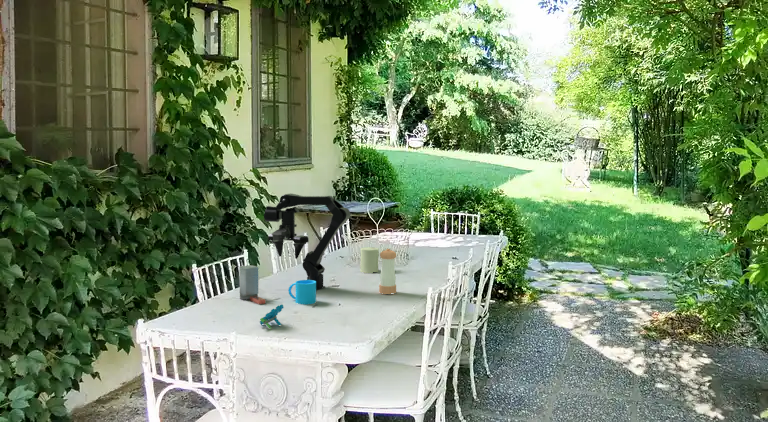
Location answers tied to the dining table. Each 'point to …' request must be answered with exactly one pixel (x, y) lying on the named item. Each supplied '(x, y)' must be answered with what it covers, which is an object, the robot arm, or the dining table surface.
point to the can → (369, 260)
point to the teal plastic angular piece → (272, 316)
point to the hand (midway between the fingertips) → (288, 257)
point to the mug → (304, 291)
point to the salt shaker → (387, 272)
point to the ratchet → (253, 298)
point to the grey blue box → (248, 280)
